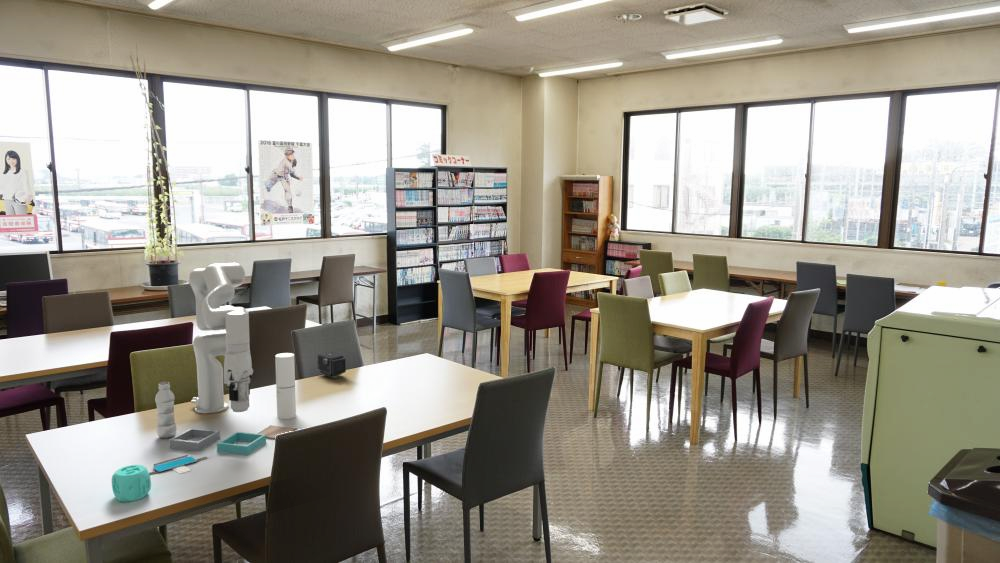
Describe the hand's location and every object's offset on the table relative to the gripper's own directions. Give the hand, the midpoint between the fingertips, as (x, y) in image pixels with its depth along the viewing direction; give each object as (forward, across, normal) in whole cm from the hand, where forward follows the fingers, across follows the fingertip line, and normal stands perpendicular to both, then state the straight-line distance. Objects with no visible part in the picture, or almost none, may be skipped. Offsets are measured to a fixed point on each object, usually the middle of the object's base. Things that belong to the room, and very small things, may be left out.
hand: (239, 397), depth 231 cm
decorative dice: (+18, +42, -8) cm, 46 cm away
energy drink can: (+5, 0, 0) cm, 5 cm away
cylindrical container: (+19, -32, -1) cm, 37 cm away
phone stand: (+19, +21, -10) cm, 30 cm away
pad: (+18, -14, +5) cm, 24 cm away
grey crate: (+18, +2, -17) cm, 25 cm away
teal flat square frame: (+18, +1, +1) cm, 18 cm away
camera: (+20, -89, -10) cm, 92 cm away
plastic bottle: (+19, -1, -31) cm, 37 cm away
